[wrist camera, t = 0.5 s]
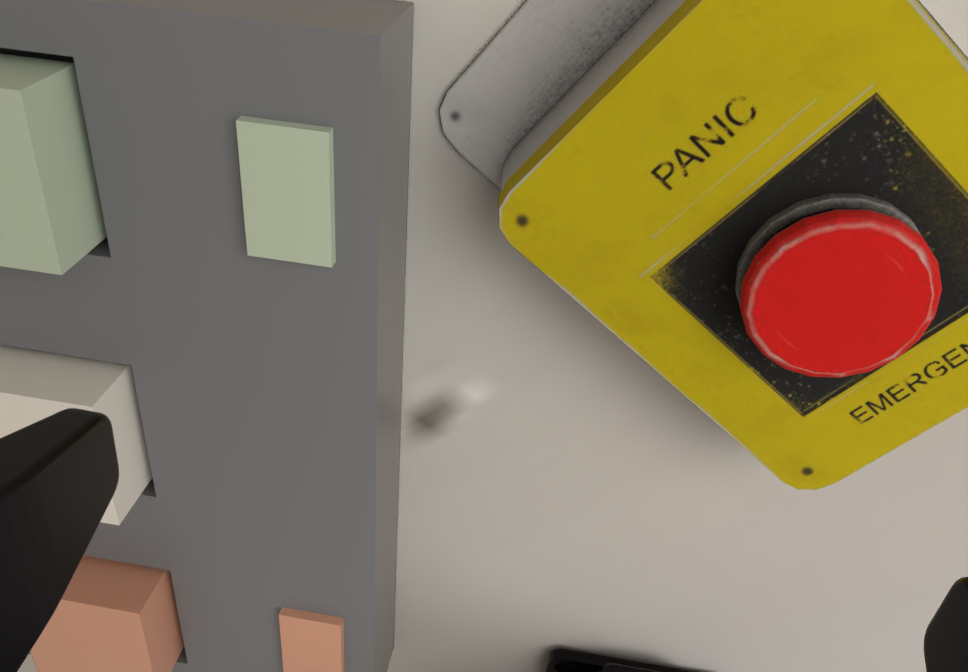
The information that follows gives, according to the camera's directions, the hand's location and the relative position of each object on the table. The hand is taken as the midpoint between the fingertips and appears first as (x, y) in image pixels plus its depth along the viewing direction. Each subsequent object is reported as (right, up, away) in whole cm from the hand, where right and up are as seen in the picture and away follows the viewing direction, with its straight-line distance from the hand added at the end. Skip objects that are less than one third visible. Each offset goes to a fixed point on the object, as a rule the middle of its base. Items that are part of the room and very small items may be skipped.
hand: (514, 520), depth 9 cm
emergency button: (+7, +6, +12) cm, 15 cm away
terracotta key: (-13, -7, +20) cm, 24 cm away
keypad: (-10, +1, +17) cm, 20 cm away
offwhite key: (-12, 0, +15) cm, 19 cm away
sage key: (-11, +7, +11) cm, 17 cm away
